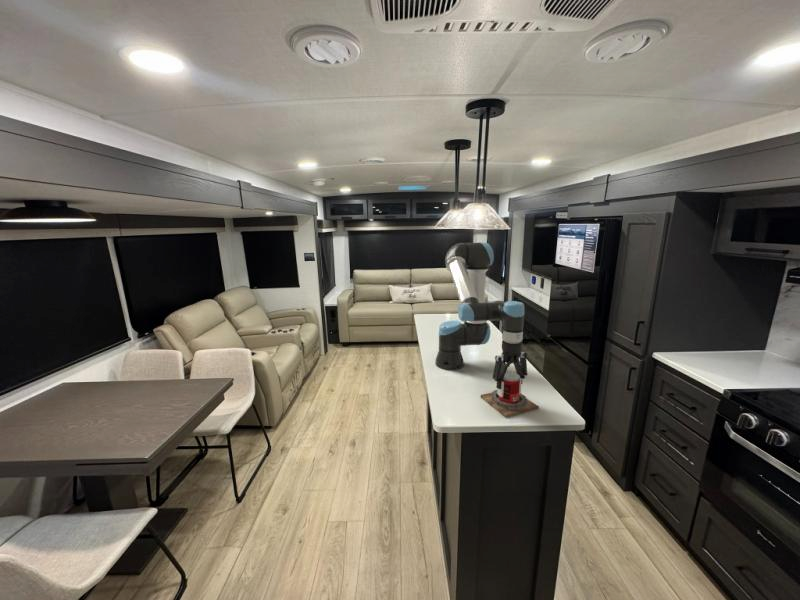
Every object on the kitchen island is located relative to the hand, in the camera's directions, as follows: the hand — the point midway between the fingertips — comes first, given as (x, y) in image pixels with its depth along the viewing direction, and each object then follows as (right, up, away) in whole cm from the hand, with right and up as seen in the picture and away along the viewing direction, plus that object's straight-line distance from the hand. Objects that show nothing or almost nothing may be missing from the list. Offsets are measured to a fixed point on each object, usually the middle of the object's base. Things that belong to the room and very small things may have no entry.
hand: (509, 393), depth 123 cm
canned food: (0, -3, +1) cm, 3 cm away
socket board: (0, -4, +1) cm, 4 cm away
